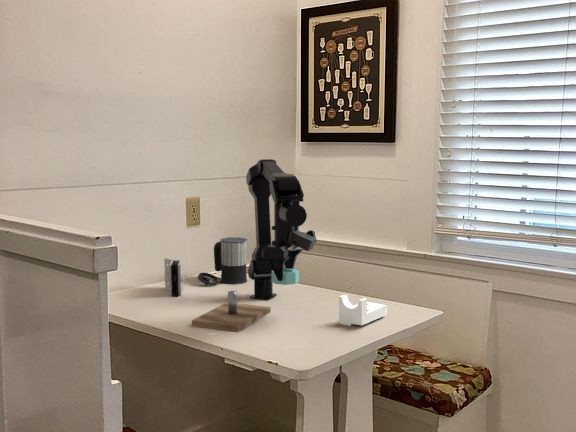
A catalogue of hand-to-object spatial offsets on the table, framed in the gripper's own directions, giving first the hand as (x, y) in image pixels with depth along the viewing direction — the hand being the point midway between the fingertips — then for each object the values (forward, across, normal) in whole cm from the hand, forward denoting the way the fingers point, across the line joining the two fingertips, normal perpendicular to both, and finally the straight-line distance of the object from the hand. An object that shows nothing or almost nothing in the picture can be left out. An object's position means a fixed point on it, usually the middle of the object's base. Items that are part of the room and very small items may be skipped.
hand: (285, 278), depth 179 cm
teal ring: (+1, 0, 0) cm, 1 cm away
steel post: (+11, -7, +13) cm, 18 cm away
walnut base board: (+11, -7, +13) cm, 18 cm away
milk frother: (+11, +32, +35) cm, 49 cm away
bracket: (+11, +4, -21) cm, 24 cm away
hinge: (+11, +15, +44) cm, 48 cm away
